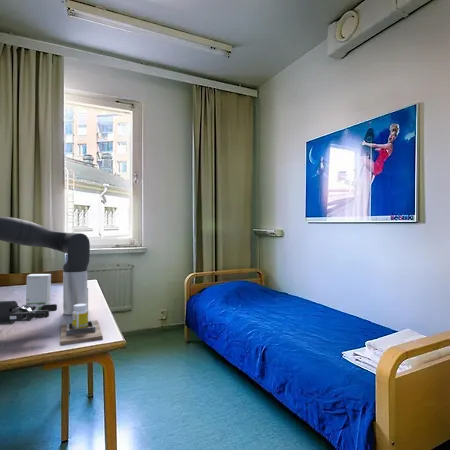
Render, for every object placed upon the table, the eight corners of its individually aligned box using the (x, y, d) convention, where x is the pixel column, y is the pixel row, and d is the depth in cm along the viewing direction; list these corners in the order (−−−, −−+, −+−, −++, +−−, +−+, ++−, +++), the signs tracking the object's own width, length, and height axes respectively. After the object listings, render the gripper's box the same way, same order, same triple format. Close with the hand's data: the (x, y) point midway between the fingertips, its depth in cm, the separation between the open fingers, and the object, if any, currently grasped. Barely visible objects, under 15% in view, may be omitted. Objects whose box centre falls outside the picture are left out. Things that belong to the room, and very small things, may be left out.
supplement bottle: (90, 327, 114) (90, 303, 114) (84, 332, 109) (84, 306, 109) (75, 328, 114) (75, 303, 114) (69, 332, 109) (69, 306, 109)
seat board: (61, 327, 118) (61, 320, 118) (97, 322, 123) (97, 316, 123) (60, 345, 100) (60, 336, 100) (102, 339, 105) (102, 331, 105)
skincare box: (25, 313, 137) (25, 276, 138) (29, 310, 144) (29, 273, 144) (47, 312, 140) (47, 275, 140) (51, 308, 146) (51, 273, 146)
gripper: (-13, 306, 100) (45, 303, 103) (7, 297, 114) (59, 294, 117) (-13, 331, 100) (45, 328, 103) (7, 319, 114) (59, 316, 117)
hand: (52, 310), depth 110 cm, fingers open, 8 cm apart
